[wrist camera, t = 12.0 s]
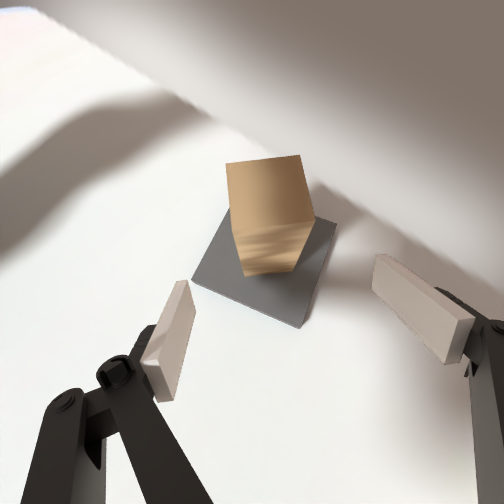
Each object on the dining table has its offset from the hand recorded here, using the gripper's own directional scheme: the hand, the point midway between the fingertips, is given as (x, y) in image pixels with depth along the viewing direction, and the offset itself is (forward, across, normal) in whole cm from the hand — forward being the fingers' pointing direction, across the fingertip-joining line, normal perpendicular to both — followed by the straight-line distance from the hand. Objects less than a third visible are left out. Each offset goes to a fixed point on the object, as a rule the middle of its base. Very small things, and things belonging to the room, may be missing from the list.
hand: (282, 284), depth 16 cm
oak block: (+9, 0, -1) cm, 9 cm away
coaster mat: (+10, 0, -2) cm, 10 cm away
